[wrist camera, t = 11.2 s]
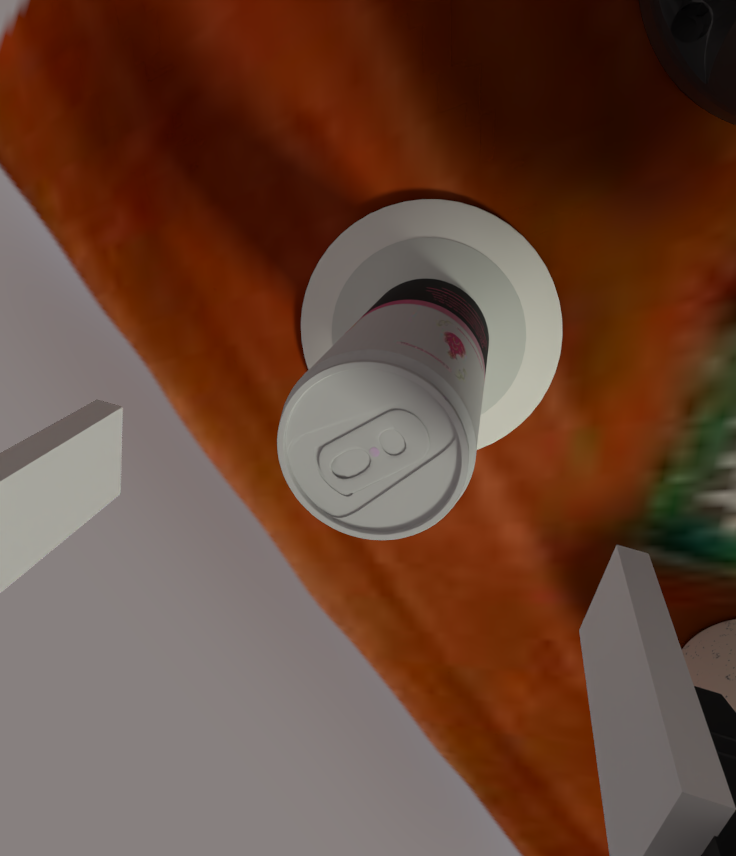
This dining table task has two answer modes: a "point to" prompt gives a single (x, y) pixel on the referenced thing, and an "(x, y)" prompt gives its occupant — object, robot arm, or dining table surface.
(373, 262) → the plate
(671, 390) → the dining table surface
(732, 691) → the teacup with lid
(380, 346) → the beverage can
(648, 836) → the robot arm
